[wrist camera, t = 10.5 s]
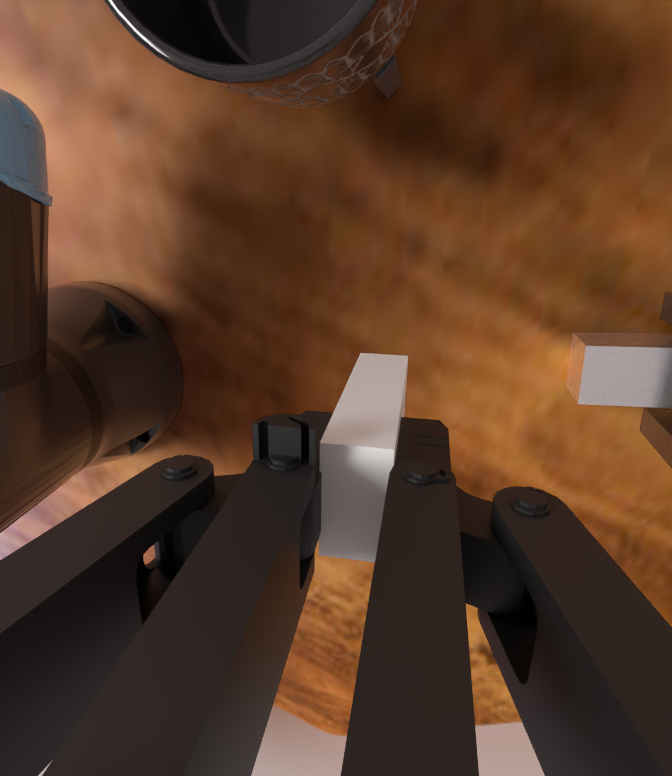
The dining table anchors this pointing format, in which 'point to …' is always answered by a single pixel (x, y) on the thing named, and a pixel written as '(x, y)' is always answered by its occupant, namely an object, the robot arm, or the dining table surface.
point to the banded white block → (621, 369)
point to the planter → (276, 44)
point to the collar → (659, 424)
